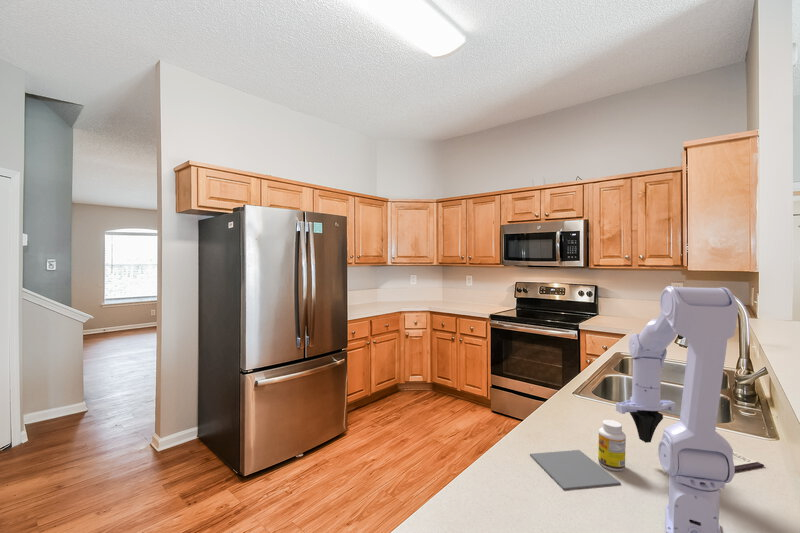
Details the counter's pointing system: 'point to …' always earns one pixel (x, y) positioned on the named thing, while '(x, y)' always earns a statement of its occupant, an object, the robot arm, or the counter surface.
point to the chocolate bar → (744, 463)
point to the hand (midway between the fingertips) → (644, 440)
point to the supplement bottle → (612, 446)
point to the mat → (573, 470)
